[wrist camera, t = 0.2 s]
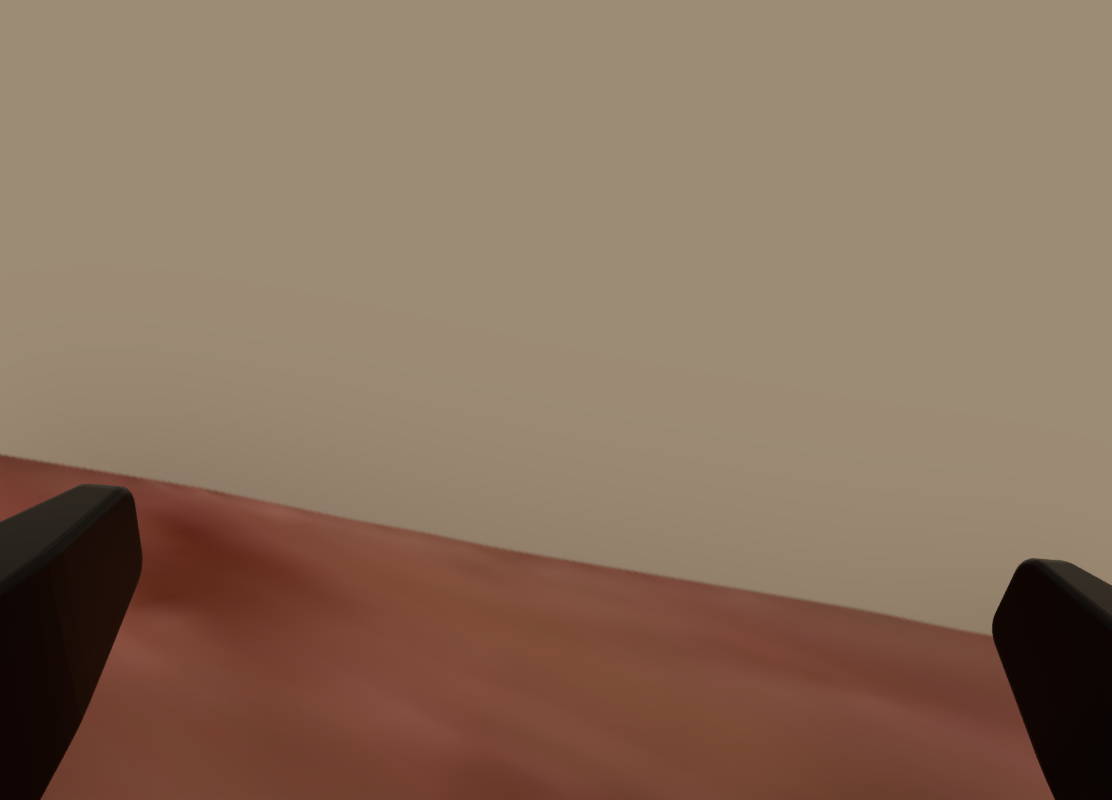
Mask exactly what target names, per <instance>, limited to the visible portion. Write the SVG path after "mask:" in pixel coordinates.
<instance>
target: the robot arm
mask: <svg viewBox="0 0 1112 800" xmlns="http://www.w3.org/2000/svg"><path fill="white" fill-rule="evenodd" d="M142 560H143V557H142V548H141V541H140V534H139V527H138V520H137V513H136V506H135V501H134V497H133V495H132V493H131V492H130V491H129V490H128V489H127V488H125V487H122V486H110V485H98V484H82V485H79V486H77V487H75V488H73V489H70V490H68V491H66V492H64V493H62V494H60V495H57V496H55V497H53V498H51V499H49V500H47V501H44V502H42V503H40V504H38V505H36V506H34V507H31V508H29V509H27V510H25V511H23V512H21V513H18V514H16V515H14V516H12V517H10V518H8V519H5V520H3V521H1V522H0V800H40V799H41V798H42V796H43V794H44V792H45V790H46V788H47V786H48V785H49V783H50V781H51V779H52V777H53V775H54V773H55V772H56V770H57V768H58V766H59V764H60V762H61V760H62V759H63V757H64V755H65V753H66V751H67V749H68V747H69V745H70V743H71V741H72V739H73V737H74V736H75V734H76V732H77V730H78V728H79V726H80V724H81V722H82V719H83V717H84V715H85V712H86V710H87V708H88V705H89V703H90V701H91V699H92V696H93V694H94V691H95V689H96V686H97V684H98V681H99V679H100V676H101V674H102V671H103V669H104V666H105V664H106V661H107V659H108V656H109V654H110V651H111V649H112V646H113V644H114V641H115V639H116V636H117V634H118V631H119V629H120V626H121V624H122V621H123V619H124V616H125V614H126V611H127V609H128V606H129V604H130V601H131V599H132V596H133V594H134V591H135V589H136V586H137V584H138V581H139V578H140V575H141V570H142ZM992 633H993V639H994V643H995V646H996V649H997V651H998V654H999V657H1000V659H1001V662H1002V665H1003V667H1004V670H1005V673H1006V676H1007V678H1008V681H1009V684H1010V686H1011V689H1012V692H1013V694H1014V697H1015V700H1016V703H1017V705H1018V708H1019V711H1020V713H1021V716H1022V719H1023V722H1024V724H1025V727H1026V730H1027V732H1028V735H1029V738H1030V740H1031V743H1032V746H1033V749H1034V751H1035V754H1036V756H1037V759H1038V761H1039V764H1040V766H1041V769H1042V771H1043V774H1044V776H1045V779H1046V781H1047V783H1048V785H1049V788H1050V790H1051V792H1052V794H1053V796H1054V799H1055V800H1112V585H1110V584H1108V583H1106V582H1105V581H1103V580H1101V579H1099V578H1097V577H1095V576H1093V575H1092V574H1090V573H1088V572H1086V571H1085V570H1083V569H1081V568H1079V567H1077V566H1076V565H1073V564H1072V563H1069V562H1066V561H1061V560H1048V559H1036V558H1032V559H1028V560H1025V561H1024V562H1022V563H1021V564H1020V565H1019V566H1018V567H1017V569H1016V571H1015V573H1014V575H1013V577H1012V579H1011V581H1010V583H1009V585H1008V588H1007V590H1006V592H1005V594H1004V596H1003V598H1002V600H1001V602H1000V605H999V607H998V609H997V611H996V613H995V615H994V618H993V623H992Z"/></svg>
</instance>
